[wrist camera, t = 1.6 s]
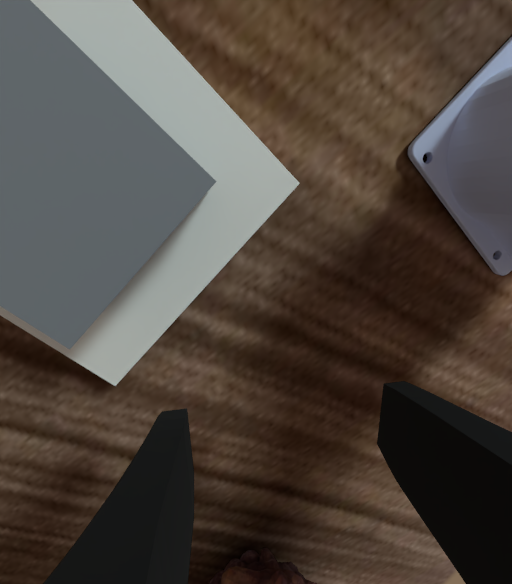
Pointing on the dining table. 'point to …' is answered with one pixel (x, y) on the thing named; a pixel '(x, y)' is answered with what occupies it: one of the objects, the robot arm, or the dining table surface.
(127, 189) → the grey cover
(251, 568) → the pine cone
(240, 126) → the socket plate
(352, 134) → the dining table surface
